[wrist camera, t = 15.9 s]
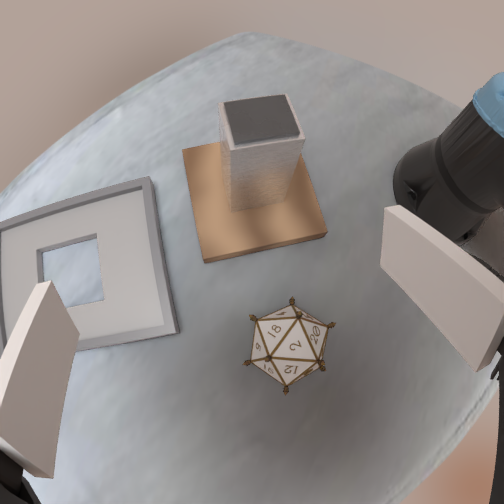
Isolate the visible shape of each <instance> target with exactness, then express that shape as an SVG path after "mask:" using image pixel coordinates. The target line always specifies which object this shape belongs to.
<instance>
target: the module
mask: <svg viewBox="0 0 504 504" xmlns="http://www.w3.org/2000/svg"><path fill="white" fill-rule="evenodd" d="M218 113H219V133H220V152H221V170H222V177H223V182H224V186H225V190H226V194H227V198H228V203H229V207H230V211H231V213H232V212H237V211H242V210H247V209H252V208H257V207H262V206H267V205H272V204H277V203H282V202H283V201H284V199H285V196H286V193H287V190H288V187H289V184H290V182H291V179H292V176H293V173H294V170H295V167H296V165H297V162H298V159H299V156H300V153H301V150H302V148H303V145H304V142H305V136H304V133H303V131H302V128H301V126H300V123H299V121H298V118H297V116H296V114H295V111H294V109H293V106H292V104H291V102H290V99H289V97H288V95H287V94H279V95H270V96H262V97H254V98H247V99H240V100H233V101H227V102H221V103H218Z"/></svg>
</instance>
